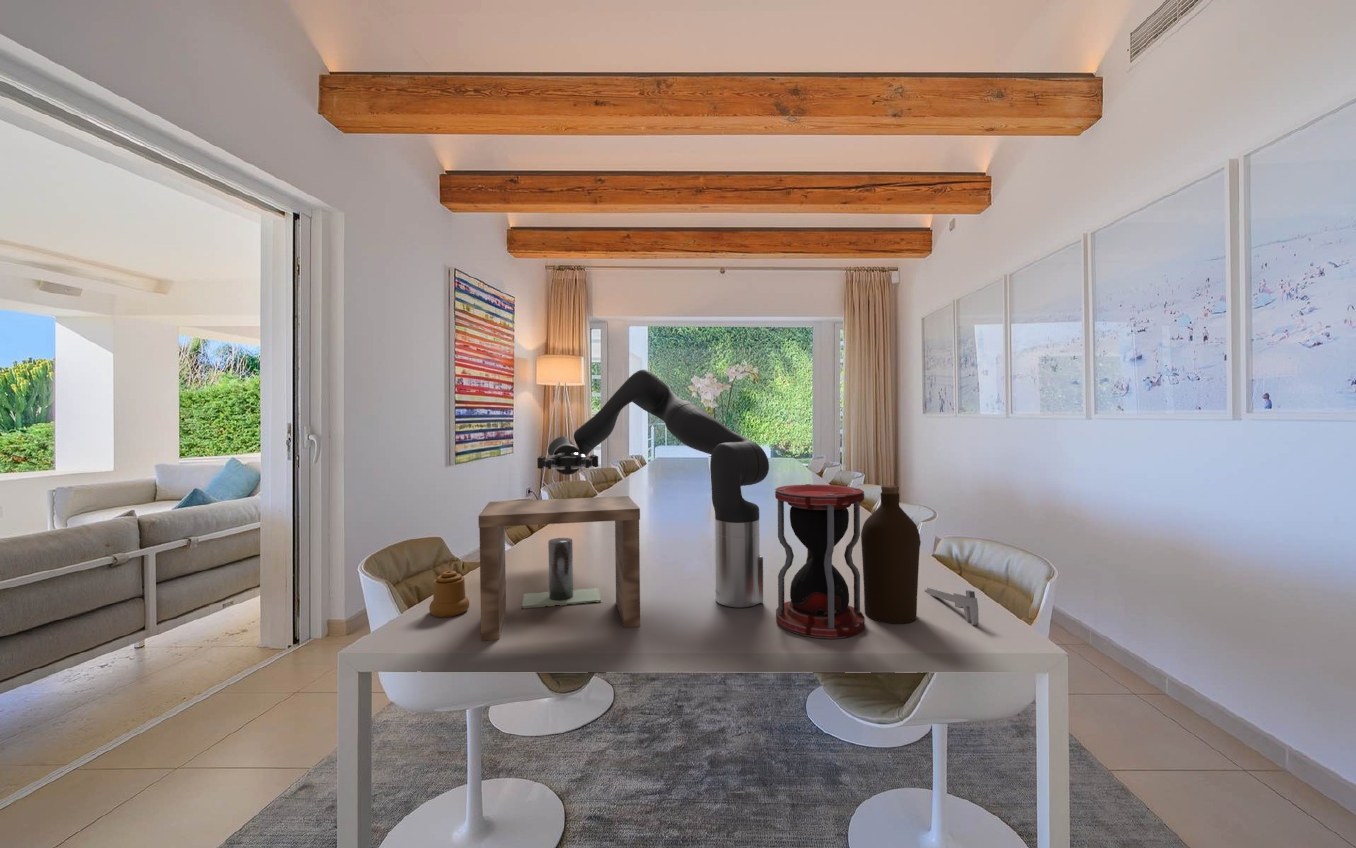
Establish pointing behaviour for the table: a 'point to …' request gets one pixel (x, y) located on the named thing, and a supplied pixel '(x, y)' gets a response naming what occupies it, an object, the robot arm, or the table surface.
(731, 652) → the table surface
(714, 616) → the table surface
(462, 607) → the ornamental finial
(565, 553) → the canister
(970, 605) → the caliper
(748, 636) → the table surface
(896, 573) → the olive oil
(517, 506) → the shelf
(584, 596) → the mat
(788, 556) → the hourglass
